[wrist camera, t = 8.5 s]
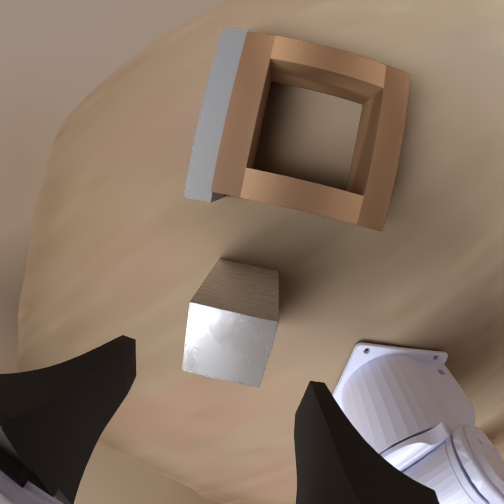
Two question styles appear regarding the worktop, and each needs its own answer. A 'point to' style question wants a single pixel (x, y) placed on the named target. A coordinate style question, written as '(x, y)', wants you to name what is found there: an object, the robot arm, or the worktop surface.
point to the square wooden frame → (329, 82)
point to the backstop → (214, 116)
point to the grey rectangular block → (233, 323)
